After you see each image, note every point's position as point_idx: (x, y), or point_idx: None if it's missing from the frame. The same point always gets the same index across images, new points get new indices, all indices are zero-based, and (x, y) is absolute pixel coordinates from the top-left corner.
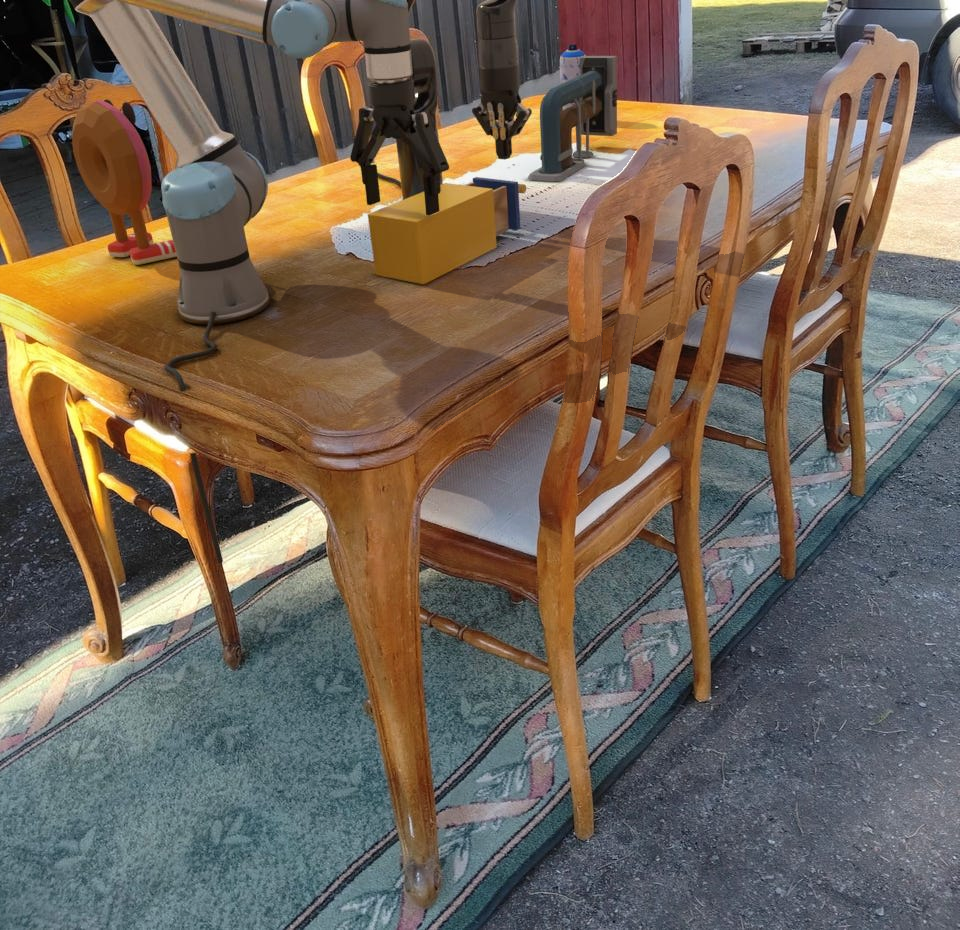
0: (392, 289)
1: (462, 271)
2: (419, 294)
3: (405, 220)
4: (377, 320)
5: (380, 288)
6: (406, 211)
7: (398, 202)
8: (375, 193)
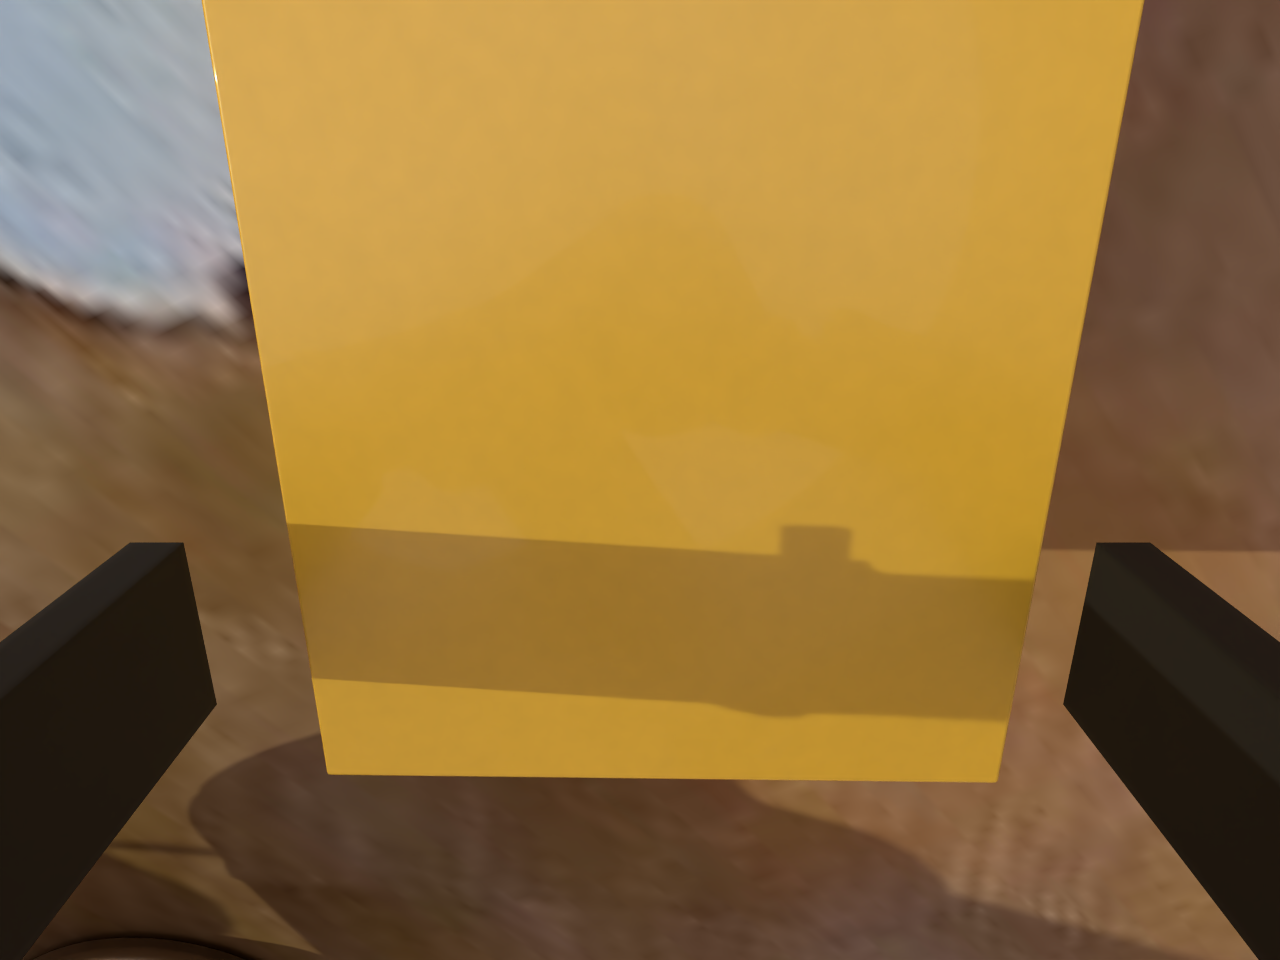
0: None
1: None
2: None
3: (845, 779)
4: (915, 930)
5: None
6: (657, 566)
7: (278, 311)
8: (135, 677)
